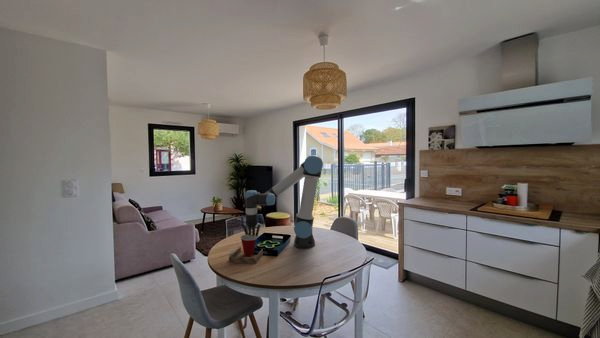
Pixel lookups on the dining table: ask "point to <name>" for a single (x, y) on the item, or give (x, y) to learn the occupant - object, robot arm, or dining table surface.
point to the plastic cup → (248, 244)
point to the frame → (244, 259)
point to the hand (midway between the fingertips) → (252, 248)
